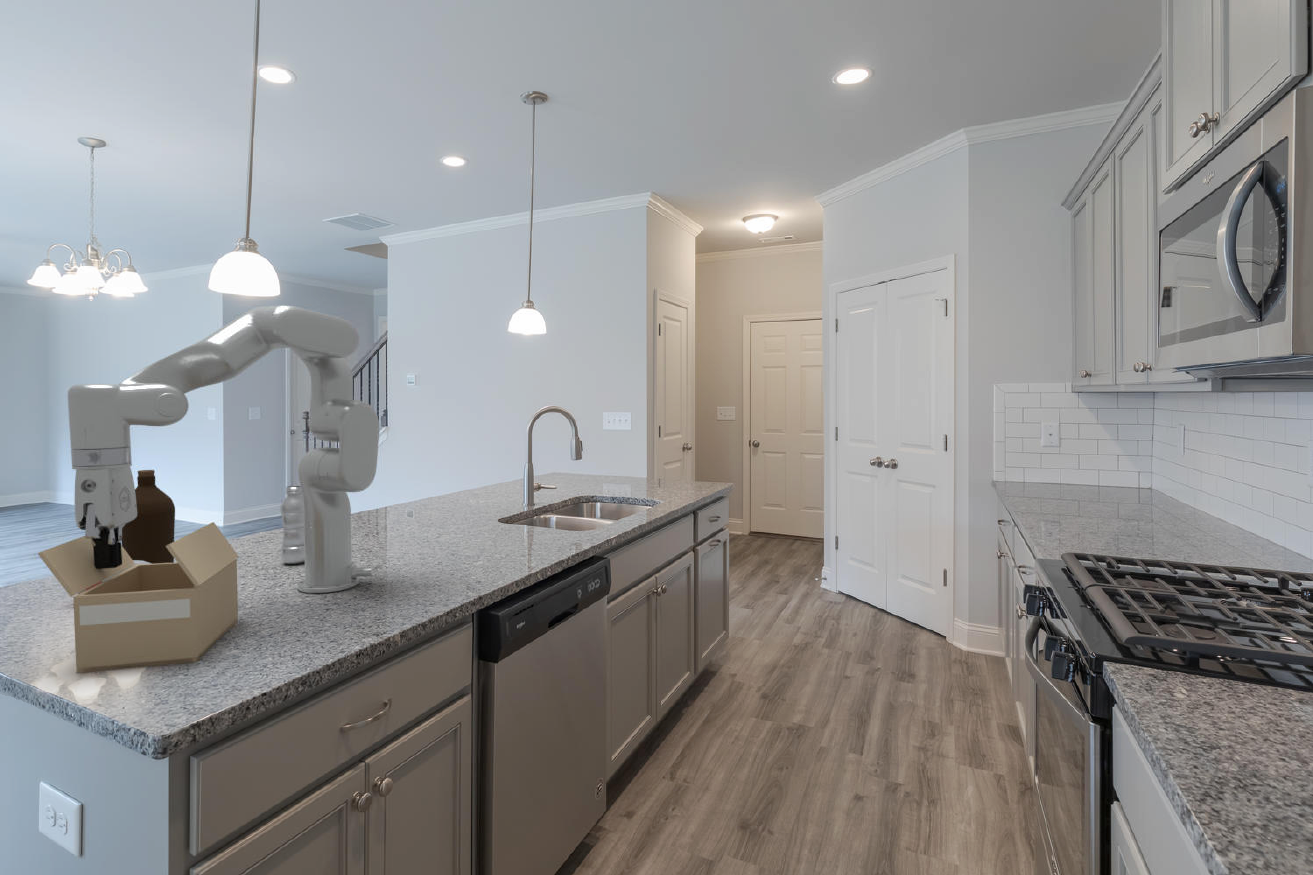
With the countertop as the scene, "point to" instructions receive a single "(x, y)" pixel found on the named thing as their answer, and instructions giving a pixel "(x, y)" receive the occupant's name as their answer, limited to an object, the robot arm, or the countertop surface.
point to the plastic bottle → (293, 526)
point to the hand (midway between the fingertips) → (108, 566)
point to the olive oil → (150, 523)
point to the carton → (152, 617)
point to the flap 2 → (202, 553)
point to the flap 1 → (79, 565)
